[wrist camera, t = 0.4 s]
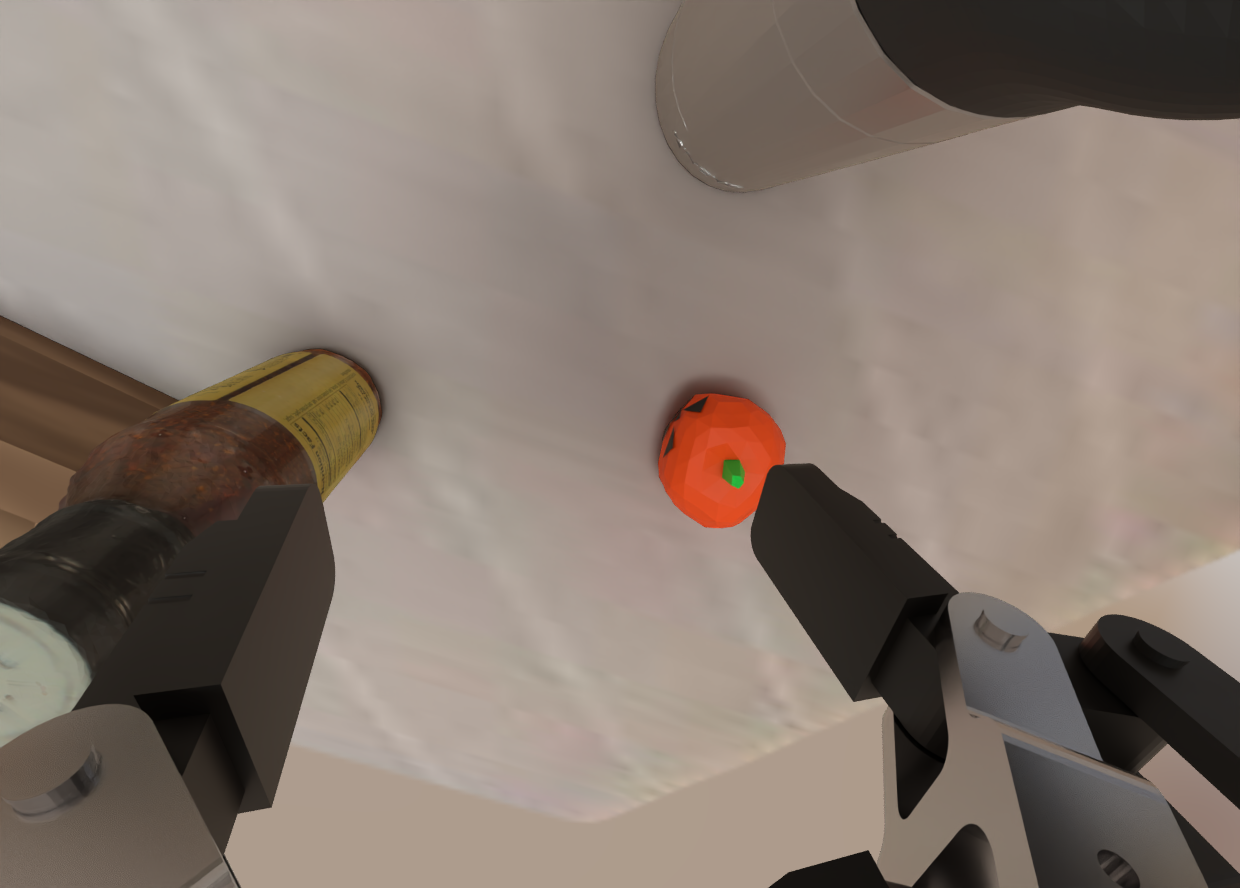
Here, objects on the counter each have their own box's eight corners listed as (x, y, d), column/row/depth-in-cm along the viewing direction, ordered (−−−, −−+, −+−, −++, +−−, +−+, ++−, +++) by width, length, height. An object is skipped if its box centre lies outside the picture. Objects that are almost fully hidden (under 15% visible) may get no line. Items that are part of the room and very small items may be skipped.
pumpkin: (651, 499, 34) (656, 553, 28) (663, 378, 31) (673, 409, 25) (760, 507, 34) (789, 562, 28) (783, 388, 31) (820, 420, 25)
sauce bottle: (264, 442, 29) (-235, 782, 11) (269, 331, 27) (-334, 514, 9) (388, 464, 30) (133, 802, 12) (401, 360, 28) (119, 573, 10)
